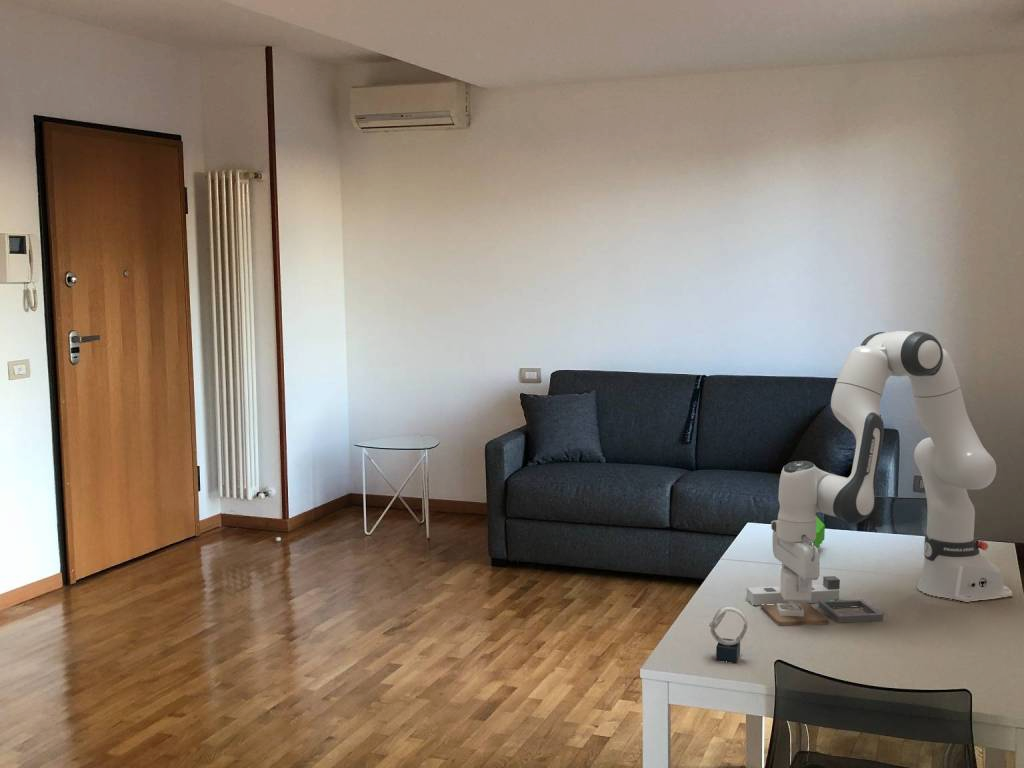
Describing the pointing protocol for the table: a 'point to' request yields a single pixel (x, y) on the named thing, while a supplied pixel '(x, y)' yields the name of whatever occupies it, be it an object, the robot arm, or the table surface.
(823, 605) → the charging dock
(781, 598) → the power strip
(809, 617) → the walnut pad
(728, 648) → the watch
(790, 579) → the security camera
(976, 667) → the table surface
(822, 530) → the green faceted elongated piece
